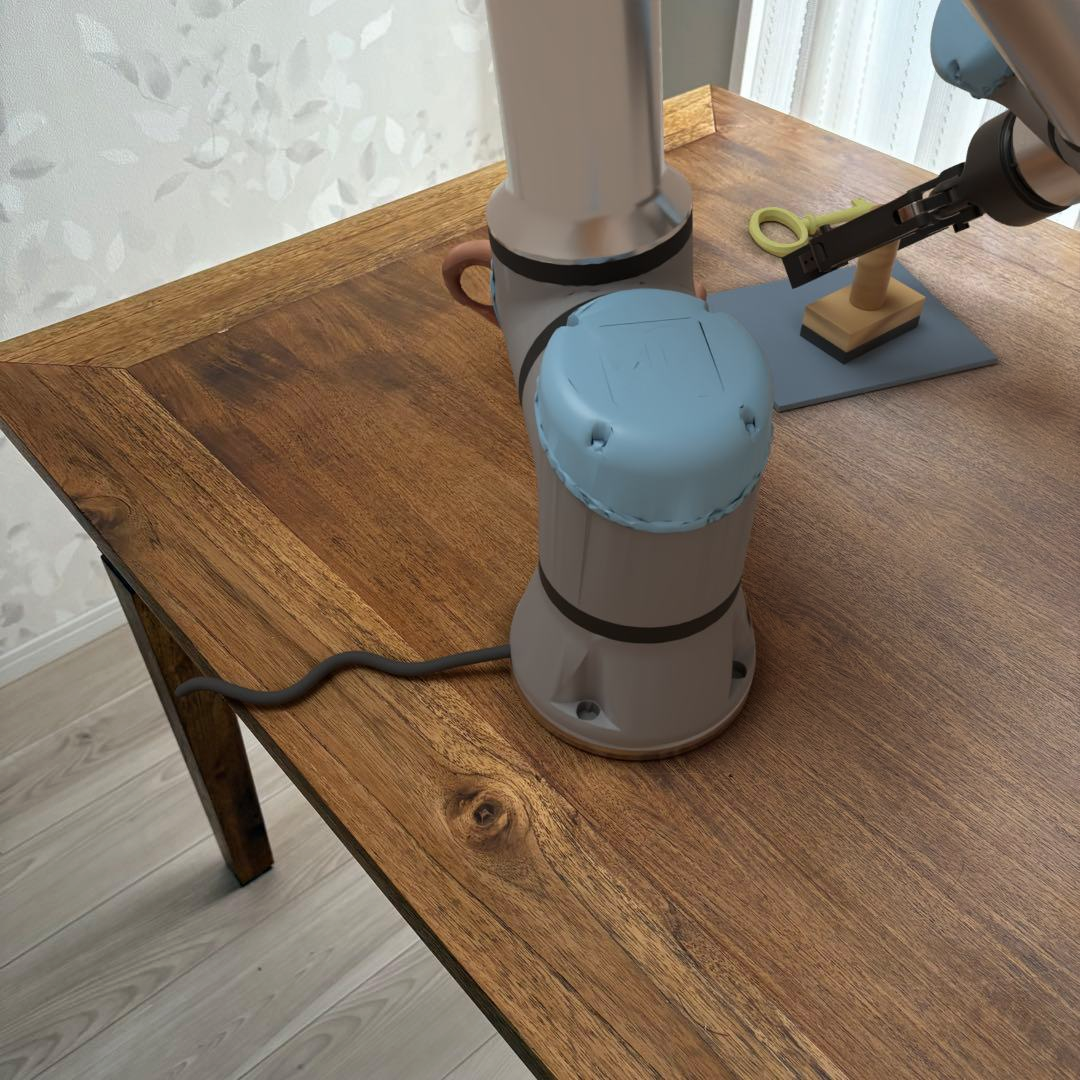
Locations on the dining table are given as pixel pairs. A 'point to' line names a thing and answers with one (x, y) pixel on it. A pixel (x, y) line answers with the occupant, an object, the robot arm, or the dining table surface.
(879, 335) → the scrub brush
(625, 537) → the robot arm
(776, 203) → the dining table surface
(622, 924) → the dining table surface
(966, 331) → the scrub mat
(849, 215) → the key
